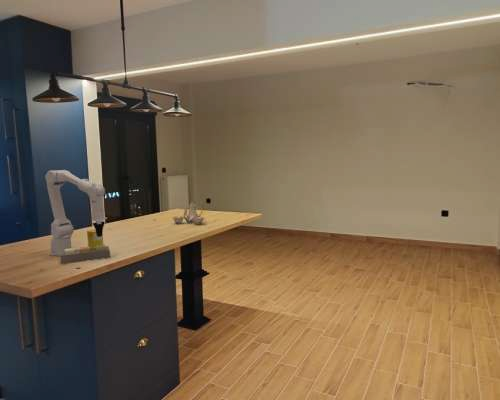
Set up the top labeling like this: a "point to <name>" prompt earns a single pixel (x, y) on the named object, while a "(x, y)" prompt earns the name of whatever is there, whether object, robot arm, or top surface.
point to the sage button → (100, 247)
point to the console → (84, 255)
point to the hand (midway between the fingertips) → (99, 236)
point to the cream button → (69, 251)
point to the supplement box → (94, 239)
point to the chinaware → (190, 216)
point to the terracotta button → (85, 249)
